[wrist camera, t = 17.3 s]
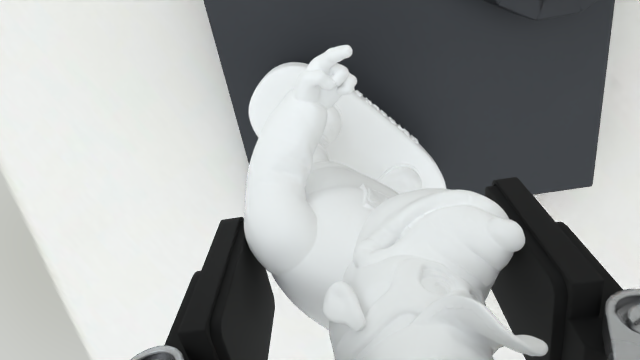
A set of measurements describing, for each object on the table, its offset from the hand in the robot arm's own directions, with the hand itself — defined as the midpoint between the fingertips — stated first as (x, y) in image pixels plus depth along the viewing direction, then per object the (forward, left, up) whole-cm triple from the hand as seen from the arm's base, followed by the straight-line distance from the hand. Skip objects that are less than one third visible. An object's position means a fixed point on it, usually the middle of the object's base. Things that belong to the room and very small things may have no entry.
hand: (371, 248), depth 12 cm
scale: (-3, -2, -11) cm, 12 cm away
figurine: (0, 0, -7) cm, 7 cm away
